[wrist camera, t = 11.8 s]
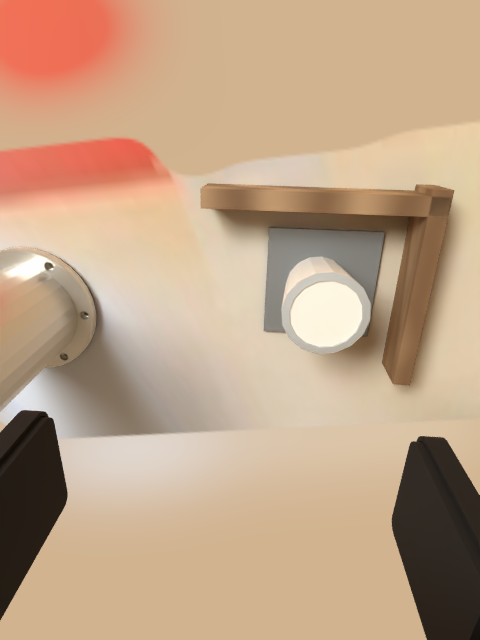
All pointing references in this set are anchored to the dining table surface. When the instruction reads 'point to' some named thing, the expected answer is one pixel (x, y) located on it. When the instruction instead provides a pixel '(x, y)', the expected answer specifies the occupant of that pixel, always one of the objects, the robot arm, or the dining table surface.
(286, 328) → the white cup
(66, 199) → the dining table surface
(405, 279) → the wooden corner fence
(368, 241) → the pad
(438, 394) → the dining table surface
